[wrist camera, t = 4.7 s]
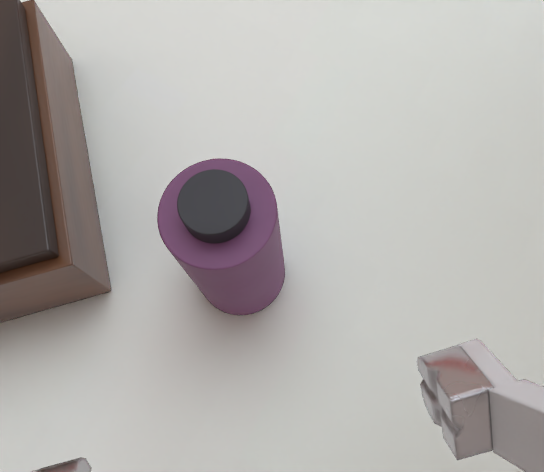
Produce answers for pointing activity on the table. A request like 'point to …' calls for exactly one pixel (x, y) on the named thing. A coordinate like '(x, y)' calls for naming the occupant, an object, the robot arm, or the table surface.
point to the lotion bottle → (225, 233)
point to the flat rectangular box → (43, 173)
